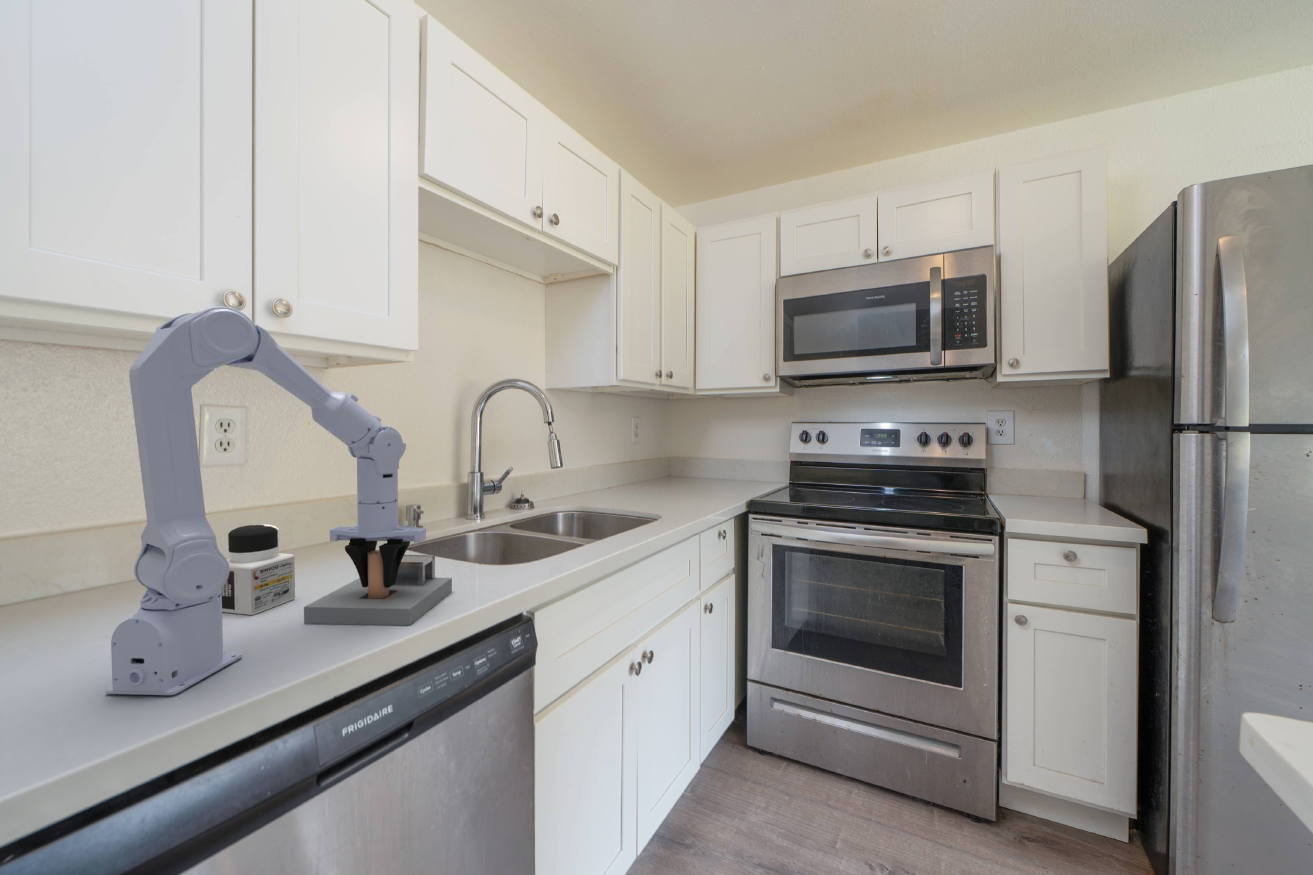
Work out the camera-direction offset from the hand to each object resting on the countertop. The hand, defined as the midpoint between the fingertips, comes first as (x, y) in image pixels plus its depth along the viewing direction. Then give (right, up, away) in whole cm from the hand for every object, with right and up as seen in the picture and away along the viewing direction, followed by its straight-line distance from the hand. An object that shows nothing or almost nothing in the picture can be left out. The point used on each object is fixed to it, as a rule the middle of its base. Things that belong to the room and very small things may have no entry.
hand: (378, 585), depth 83 cm
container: (-21, -4, +2) cm, 21 cm away
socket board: (0, -4, +2) cm, 4 cm away
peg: (0, -4, 0) cm, 4 cm away
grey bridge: (0, -1, +7) cm, 7 cm away
